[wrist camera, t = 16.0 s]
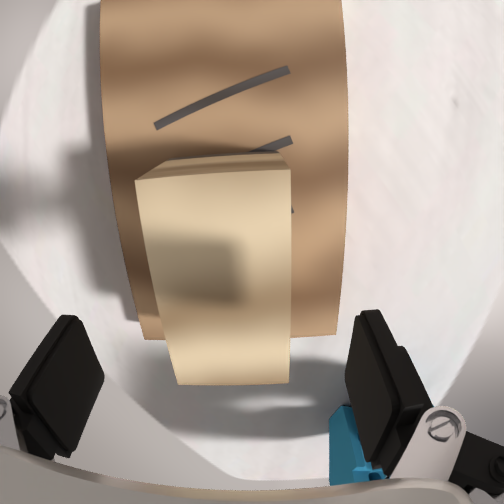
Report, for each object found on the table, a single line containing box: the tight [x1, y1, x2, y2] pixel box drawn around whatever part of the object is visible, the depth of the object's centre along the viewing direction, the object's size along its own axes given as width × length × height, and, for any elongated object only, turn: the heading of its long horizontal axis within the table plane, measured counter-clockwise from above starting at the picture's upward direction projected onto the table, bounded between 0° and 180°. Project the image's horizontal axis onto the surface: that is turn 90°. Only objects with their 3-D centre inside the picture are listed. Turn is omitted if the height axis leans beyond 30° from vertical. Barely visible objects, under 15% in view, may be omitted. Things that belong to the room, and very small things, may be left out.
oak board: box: [100, 0, 348, 340], centre depth 19 cm, size 24×14×2 cm, turn 3°
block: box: [329, 406, 434, 486], centre depth 19 cm, size 12×5×20 cm, turn 158°
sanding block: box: [135, 151, 291, 385], centre depth 17 cm, size 11×6×6 cm, turn 3°
